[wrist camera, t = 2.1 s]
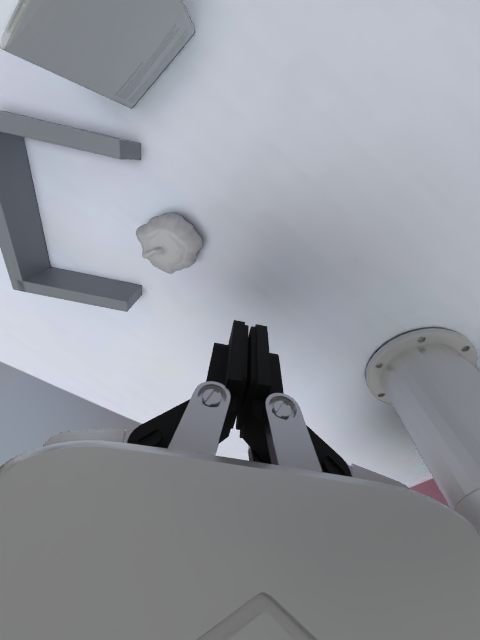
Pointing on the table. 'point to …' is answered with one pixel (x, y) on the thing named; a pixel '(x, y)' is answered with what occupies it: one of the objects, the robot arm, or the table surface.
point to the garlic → (169, 242)
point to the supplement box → (98, 40)
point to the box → (25, 224)
